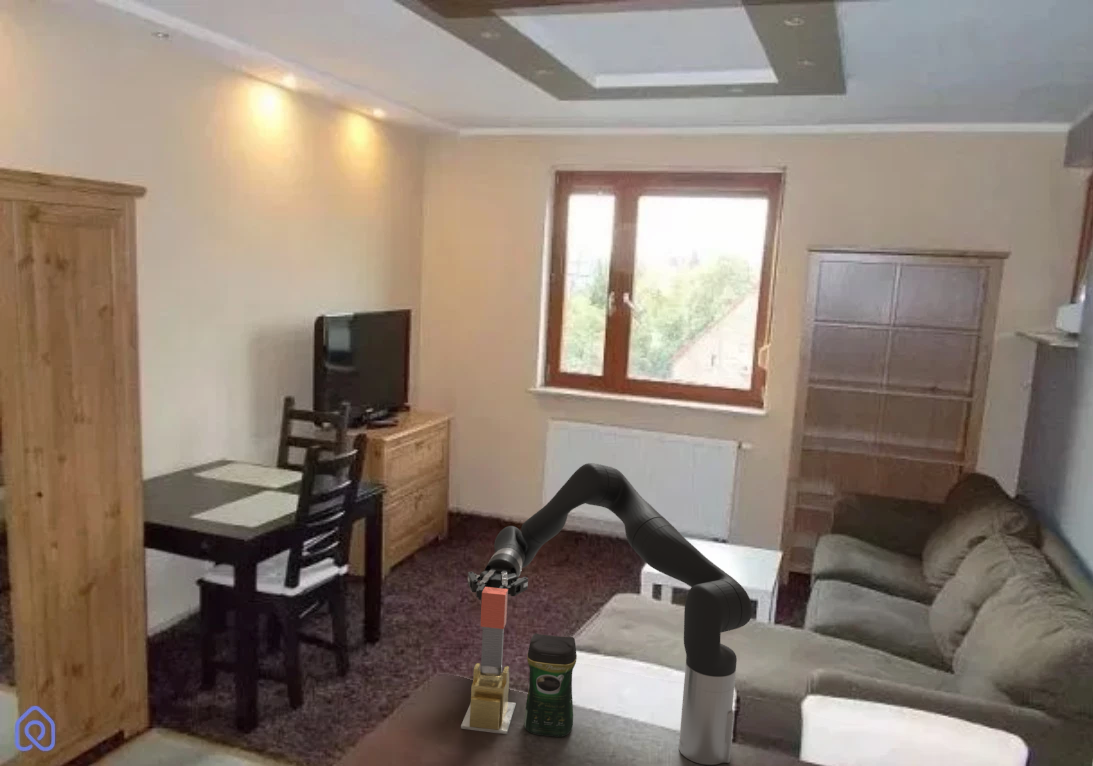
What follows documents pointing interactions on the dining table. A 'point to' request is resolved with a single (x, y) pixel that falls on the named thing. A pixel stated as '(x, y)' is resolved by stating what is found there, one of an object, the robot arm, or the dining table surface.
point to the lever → (493, 630)
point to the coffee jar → (550, 685)
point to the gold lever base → (489, 703)
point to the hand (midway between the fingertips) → (489, 596)
